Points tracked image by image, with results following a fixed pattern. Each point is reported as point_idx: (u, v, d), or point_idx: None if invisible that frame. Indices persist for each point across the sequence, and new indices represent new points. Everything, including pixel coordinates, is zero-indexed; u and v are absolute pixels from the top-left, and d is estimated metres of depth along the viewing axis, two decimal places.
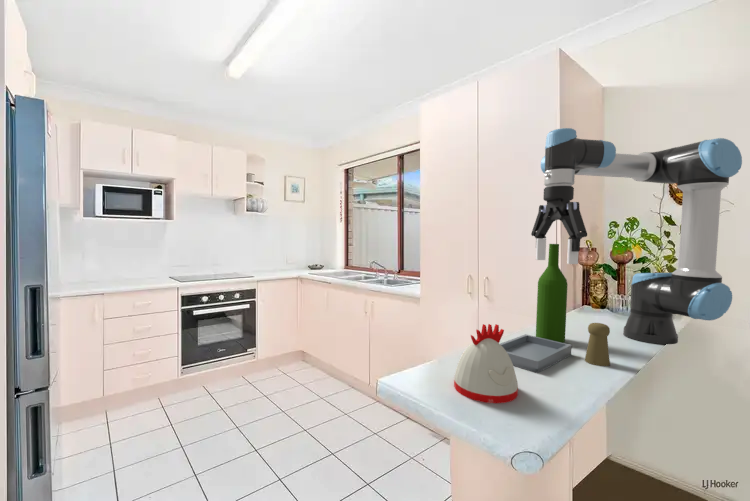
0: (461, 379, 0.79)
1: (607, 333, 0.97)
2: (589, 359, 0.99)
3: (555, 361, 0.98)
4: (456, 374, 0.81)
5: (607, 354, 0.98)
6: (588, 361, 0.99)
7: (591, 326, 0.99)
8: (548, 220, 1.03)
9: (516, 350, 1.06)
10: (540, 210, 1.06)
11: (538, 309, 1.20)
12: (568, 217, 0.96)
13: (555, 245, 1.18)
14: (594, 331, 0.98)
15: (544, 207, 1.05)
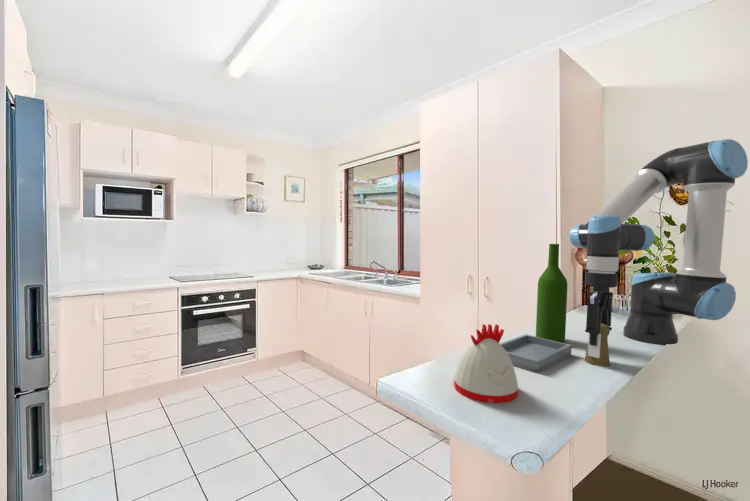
0: (461, 379, 0.79)
1: (607, 333, 0.97)
2: (589, 359, 0.99)
3: (555, 361, 0.98)
4: (456, 374, 0.81)
5: (607, 354, 0.98)
6: (588, 361, 0.99)
7: None
8: None
9: (516, 350, 1.06)
10: None
11: (538, 309, 1.20)
12: None
13: (555, 245, 1.18)
14: None
15: None
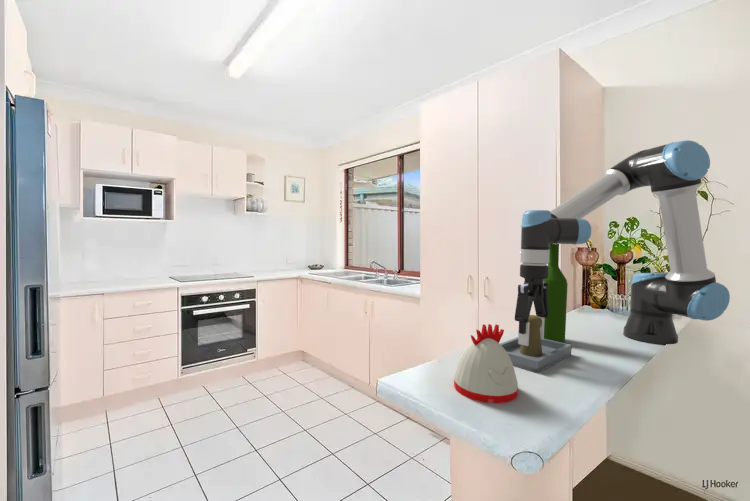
0: (461, 379, 0.79)
1: (539, 324, 1.01)
2: (523, 349, 1.03)
3: (555, 361, 0.98)
4: (456, 374, 0.81)
5: (539, 345, 1.01)
6: (522, 352, 1.03)
7: None
8: None
9: (516, 350, 1.06)
10: None
11: None
12: (528, 298, 1.00)
13: (555, 245, 1.18)
14: None
15: None
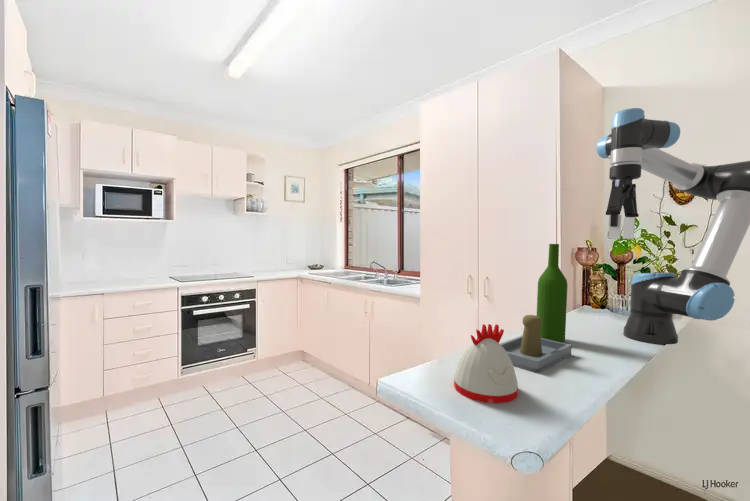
0: (461, 379, 0.79)
1: (539, 325, 1.01)
2: (523, 349, 1.03)
3: (555, 361, 0.98)
4: (456, 374, 0.81)
5: (539, 345, 1.01)
6: (522, 352, 1.03)
7: (524, 318, 1.03)
8: None
9: (516, 350, 1.06)
10: None
11: (538, 309, 1.20)
12: None
13: (555, 245, 1.18)
14: (527, 323, 1.02)
15: None
